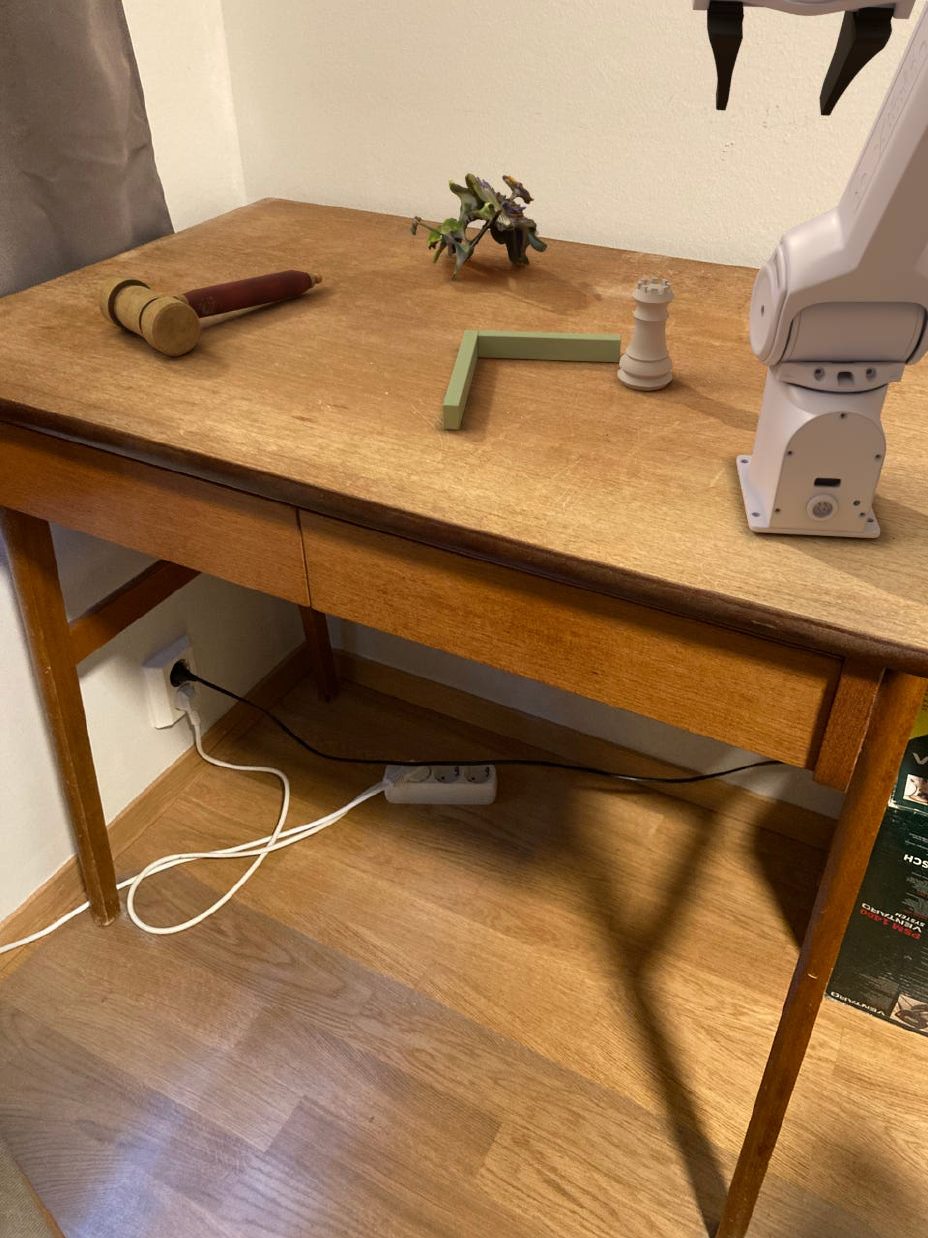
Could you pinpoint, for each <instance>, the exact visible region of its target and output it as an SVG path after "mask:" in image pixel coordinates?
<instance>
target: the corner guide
mask: <svg viewBox="0 0 928 1238" xmlns="http://www.w3.org/2000/svg"><path fill="white" fill-rule="evenodd" d="M621 346H622V335H621V334H611V333H610V334H608V333H577V332H576V333H575V332H574V333H573V332H547V331H546V332H545V331H517V330H486V329H480V330H479V329H465V330H464V333H463V336H462V340H461V342H460V346H459V350H458V352H457V355H456V360H455V363H454V366H453V370H452V372H451V377H450V380H449V383H448V386H447V390H446V393H445V396H444V399H443V403H442V421H443V423H442V426H443V430H455V431H456V430H460V427H461V423H462V420H463V415H464V412H465V409H466V404H467V400H468V396H469V393H470V389H471V385H472V381H473V377H474V373H475V370H476V366H477V361H478V358H483V359H485V358H489V359H516V360H541V361H542V360H543V361H571V362H572V361H573V362H596V363H597V362H599V363H619V362H620V359H621V349H622V348H621Z"/></svg>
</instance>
